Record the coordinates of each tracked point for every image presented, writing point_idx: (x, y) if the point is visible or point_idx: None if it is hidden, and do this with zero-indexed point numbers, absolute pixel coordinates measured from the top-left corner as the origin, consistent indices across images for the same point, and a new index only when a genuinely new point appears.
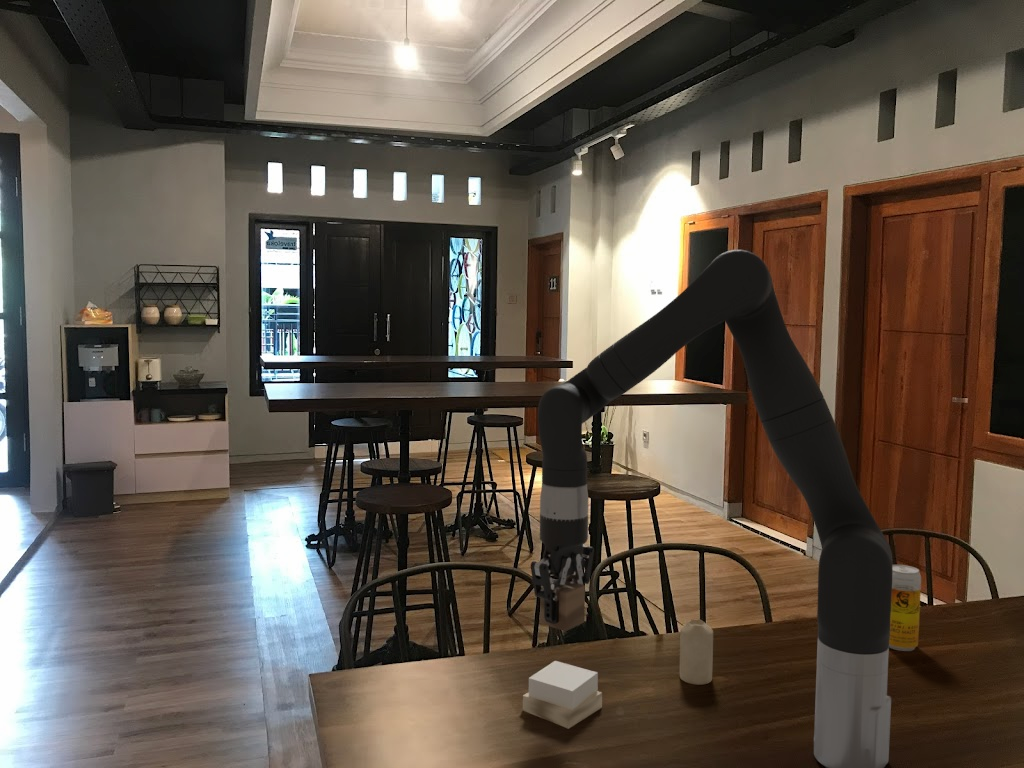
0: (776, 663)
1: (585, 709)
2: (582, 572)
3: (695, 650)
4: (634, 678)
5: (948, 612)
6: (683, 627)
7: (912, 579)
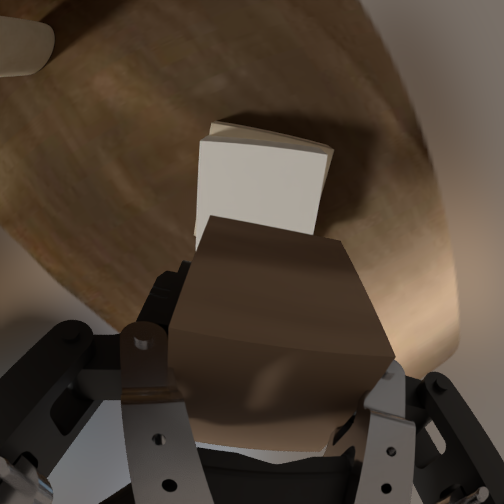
0: None
1: (273, 133)
2: (127, 418)
3: (14, 29)
4: (78, 126)
5: None
6: None
7: None
